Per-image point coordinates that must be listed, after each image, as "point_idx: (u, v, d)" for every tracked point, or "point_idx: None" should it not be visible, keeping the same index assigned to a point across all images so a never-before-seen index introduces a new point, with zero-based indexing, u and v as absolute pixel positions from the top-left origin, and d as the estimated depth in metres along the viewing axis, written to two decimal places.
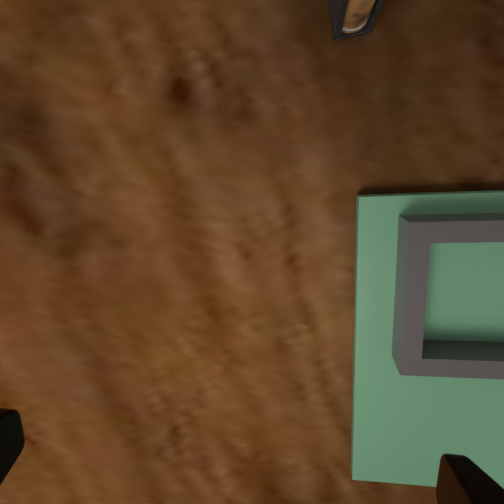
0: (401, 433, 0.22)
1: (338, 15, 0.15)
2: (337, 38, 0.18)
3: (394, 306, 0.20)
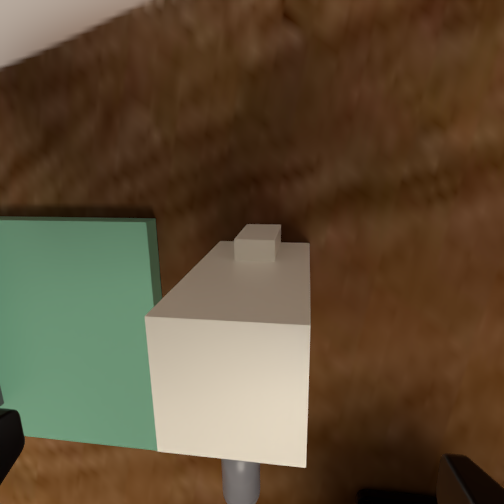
0: (92, 398, 0.19)
1: None
2: None
3: None
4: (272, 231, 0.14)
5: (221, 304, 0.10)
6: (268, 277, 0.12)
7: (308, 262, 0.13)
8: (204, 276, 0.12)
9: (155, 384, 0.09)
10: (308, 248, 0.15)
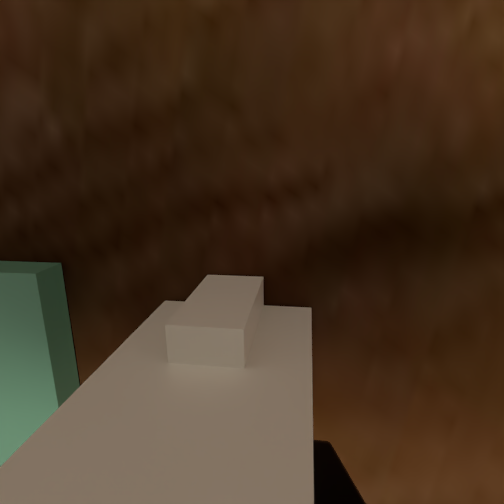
0: None
1: None
2: None
3: None
4: (244, 298, 0.08)
5: None
6: (219, 440, 0.05)
7: (309, 373, 0.07)
8: (79, 431, 0.05)
9: None
10: (309, 324, 0.09)
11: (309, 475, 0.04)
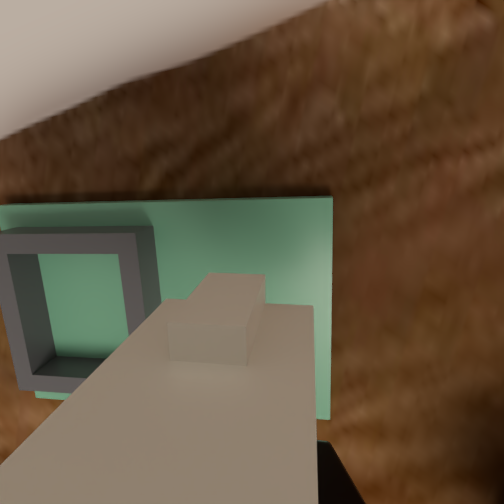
0: None
1: None
2: None
3: None
4: (246, 295, 0.08)
5: None
6: (222, 436, 0.05)
7: (312, 370, 0.07)
8: (82, 427, 0.05)
9: None
10: (311, 321, 0.09)
11: (313, 472, 0.04)
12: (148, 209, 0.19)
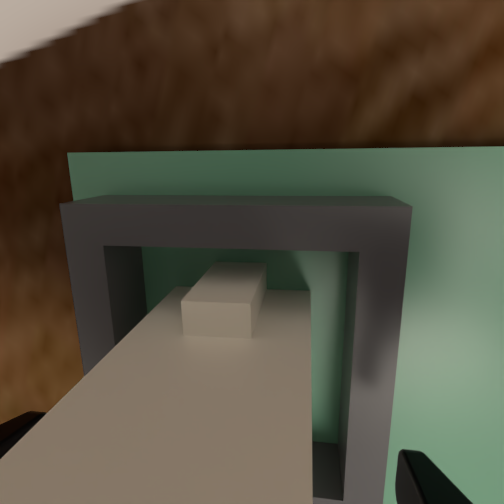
0: None
1: None
2: None
3: None
4: (250, 279, 0.09)
5: None
6: (232, 390, 0.06)
7: (308, 341, 0.08)
8: (112, 385, 0.06)
9: None
10: (308, 303, 0.09)
11: (308, 414, 0.05)
12: (387, 163, 0.09)
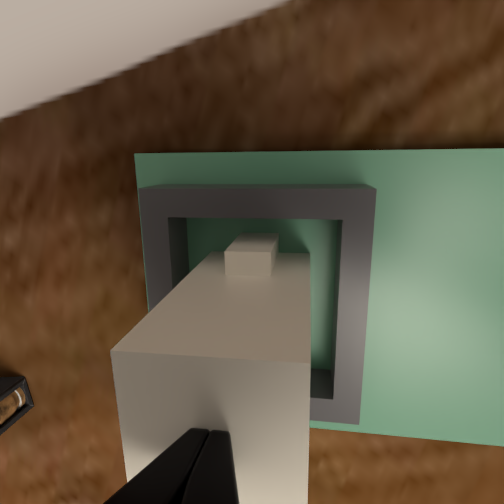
0: (488, 385, 0.15)
1: None
2: (29, 407, 0.20)
3: None
4: (268, 241, 0.13)
5: (204, 333, 0.08)
6: (262, 296, 0.10)
7: (308, 277, 0.12)
8: (189, 295, 0.10)
9: (125, 430, 0.08)
10: (309, 259, 0.13)
11: (308, 304, 0.09)
12: (363, 160, 0.13)
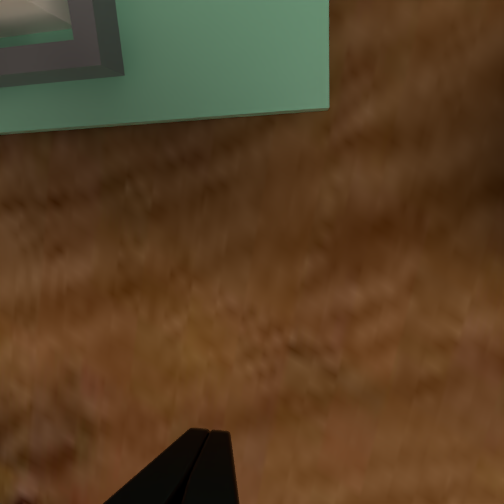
0: (238, 44, 0.15)
1: None
2: None
3: (64, 81, 0.17)
4: None
5: None
6: None
7: None
8: None
9: None
10: None
11: None
12: None
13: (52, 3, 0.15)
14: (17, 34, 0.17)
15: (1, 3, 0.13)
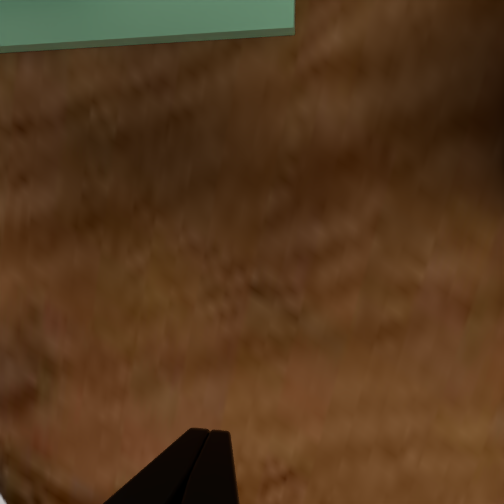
0: None
1: None
2: None
3: None
4: None
5: None
6: None
7: None
8: None
9: None
10: None
11: None
12: None
13: None
14: None
15: None
